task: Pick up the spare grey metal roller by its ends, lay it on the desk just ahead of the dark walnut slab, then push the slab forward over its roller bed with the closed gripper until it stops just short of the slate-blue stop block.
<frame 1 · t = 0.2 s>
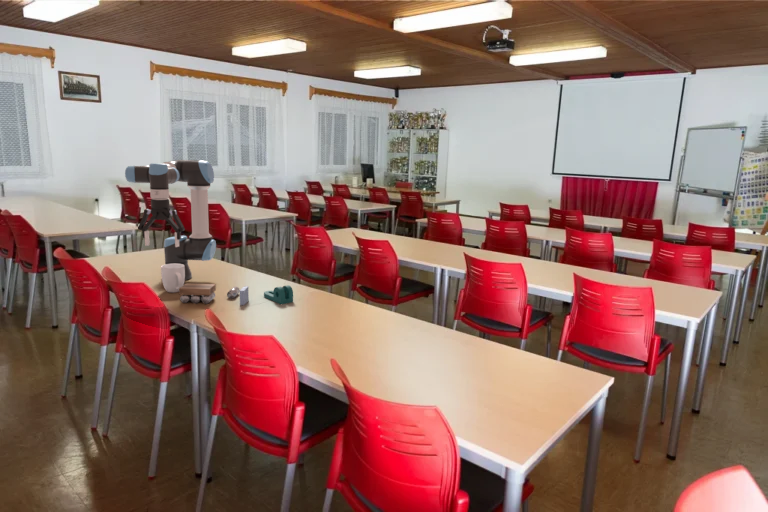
hand: (162, 246, 230), 28 cm above the table, fingers open, 13 cm apart
mug: (174, 291, 258), on the table
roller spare: (233, 292, 253), point 2 cm above the table
stop block: (244, 302, 244), on the table
roller bed: (198, 301, 243), on the table
bracket: (276, 299, 252), on the table
slab: (197, 289, 242), point 6 cm above the table, slide at 0.0 cm
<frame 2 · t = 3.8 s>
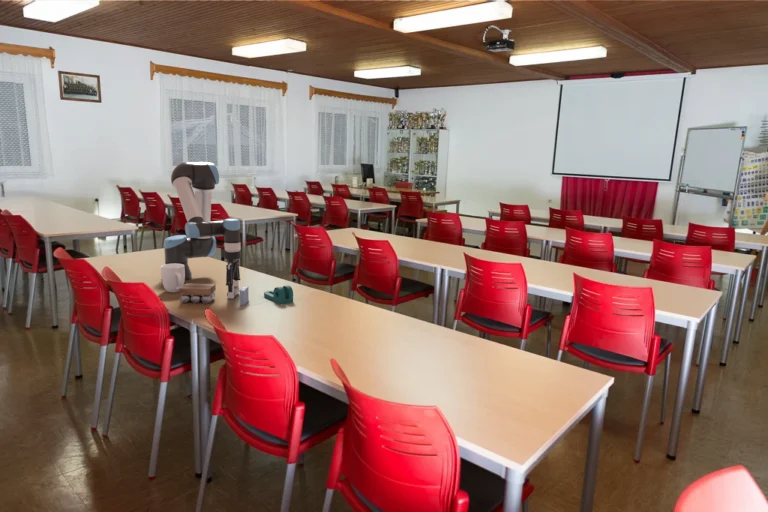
hand: (233, 295, 253), 0 cm above the table, fingers closed on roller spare, 8 cm apart
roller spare: (233, 292, 253), point 2 cm above the table, touching gripper
everything else where it was.
when the fingers open (1 cm above the table, at t = 8.5 s): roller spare stays where it is, point 2 cm above the table.
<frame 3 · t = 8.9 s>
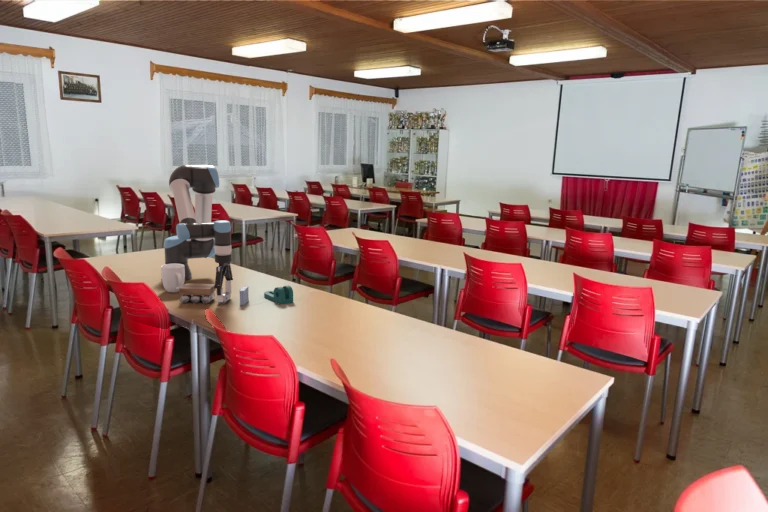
hand: (224, 297, 243), 2 cm above the table, fingers open, 13 cm apart
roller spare: (224, 298, 243), point 2 cm above the table
everything else where it was.
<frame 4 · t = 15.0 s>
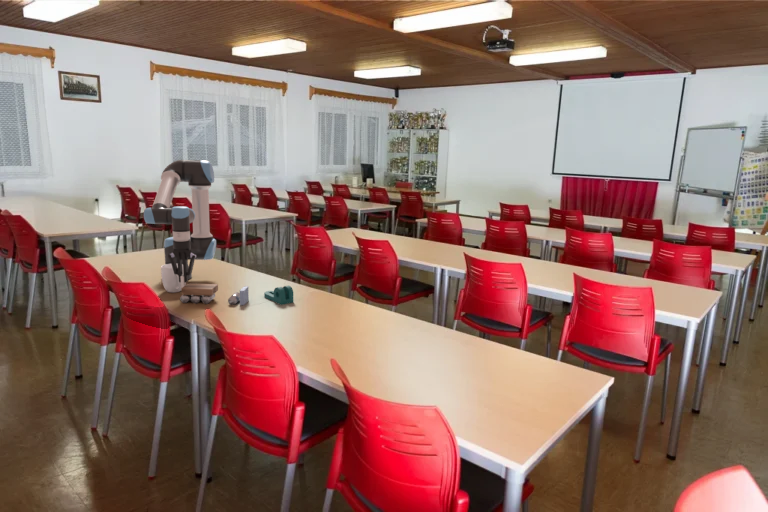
hand: (183, 288, 242), 6 cm above the table, fingers closed
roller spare: (234, 298, 243), point 2 cm above the table, tilted 149°
slab: (200, 289, 242), point 6 cm above the table, slide at 1.2 cm, touching gripper
everything else where it was.
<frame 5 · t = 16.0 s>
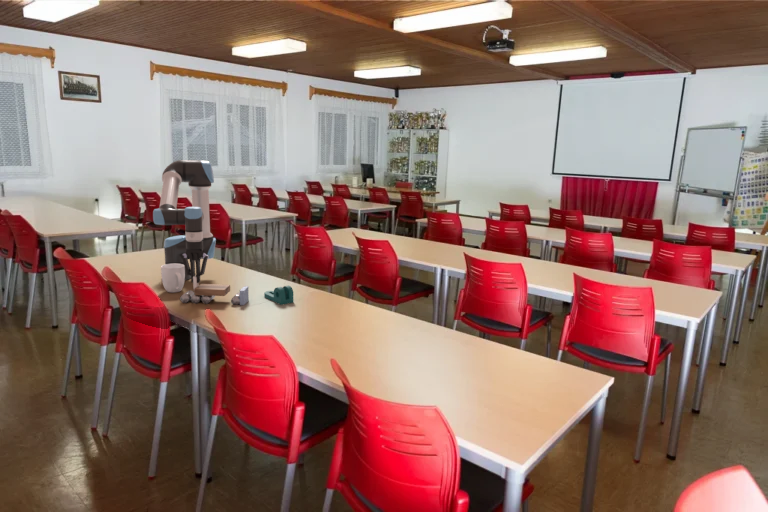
hand: (196, 289, 242), 6 cm above the table, fingers closed
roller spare: (237, 298, 243), point 2 cm above the table, tilted 169°
slab: (212, 289, 242), point 6 cm above the table, slide at 7.1 cm, touching gripper
everything else where it was.
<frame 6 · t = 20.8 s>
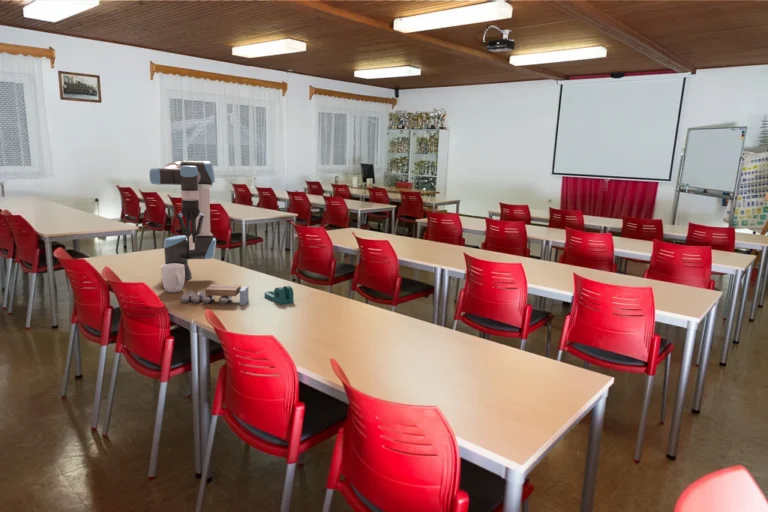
hand: (192, 249, 241), 24 cm above the table, fingers closed
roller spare: (225, 298, 243), point 2 cm above the table, tilted 19°
slab: (223, 290, 242), point 6 cm above the table, slide at 12.2 cm
everything else where it was.
at the end: slab slide at 12.2 cm; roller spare inside the target area (1.4 cm from its centre), point 1.8 cm above the table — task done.
